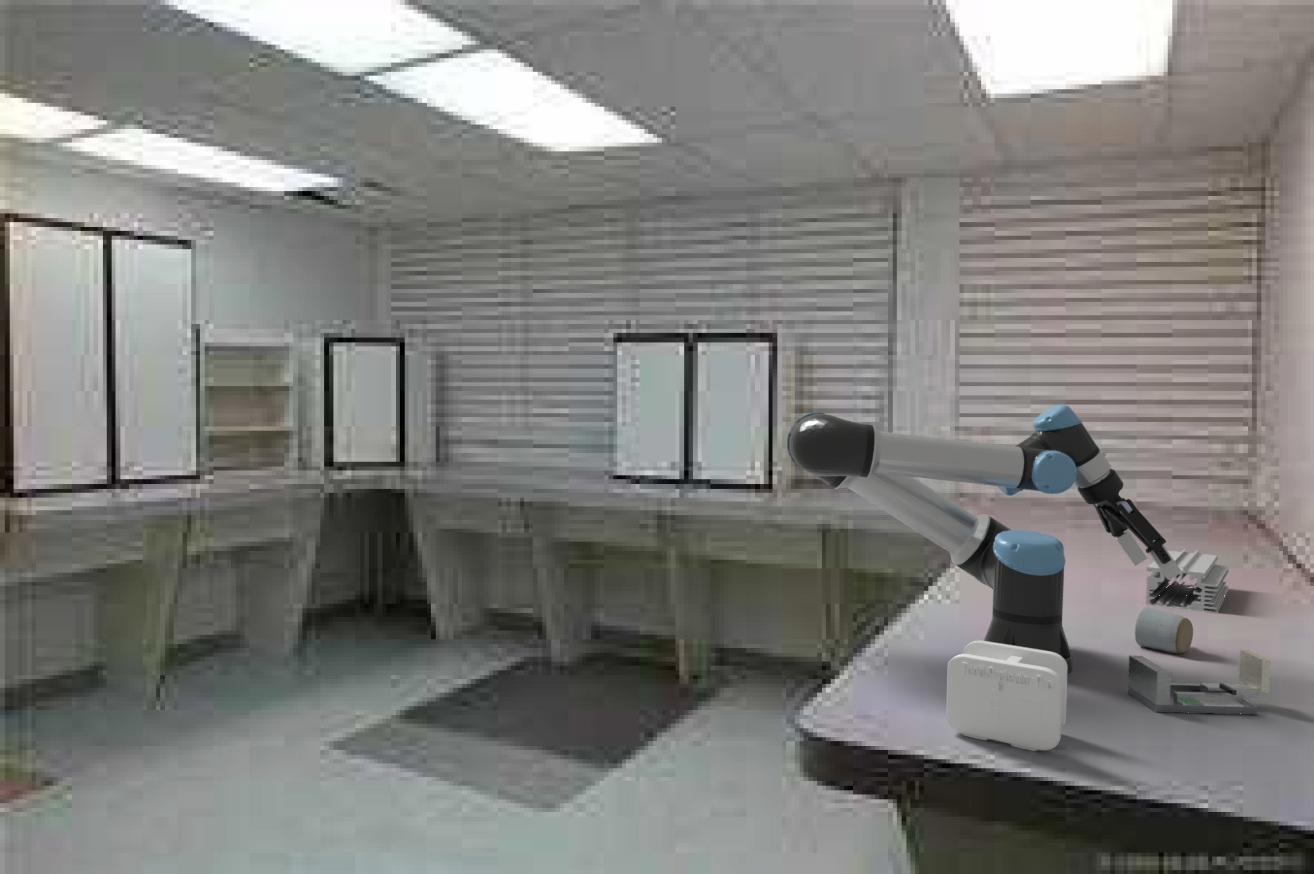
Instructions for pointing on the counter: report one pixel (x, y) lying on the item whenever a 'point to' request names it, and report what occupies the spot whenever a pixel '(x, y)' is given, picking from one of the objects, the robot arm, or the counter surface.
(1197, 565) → the aluminum extrusion profile
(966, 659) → the cable organizer
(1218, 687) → the sliding gauge carriage
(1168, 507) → the counter surface
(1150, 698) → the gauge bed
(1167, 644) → the grey tan cylinder
